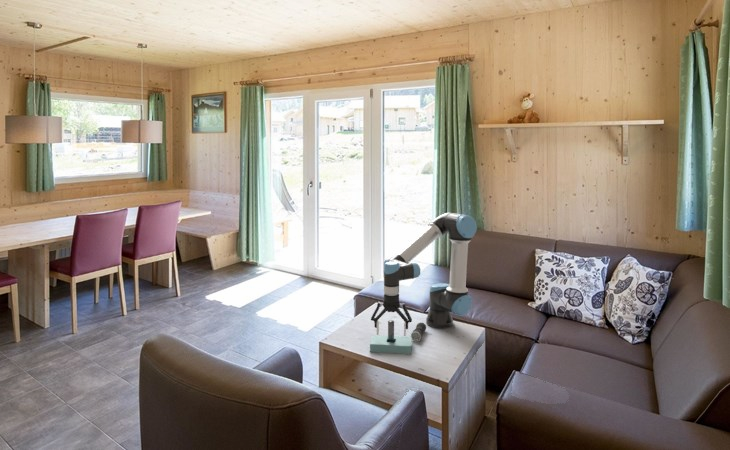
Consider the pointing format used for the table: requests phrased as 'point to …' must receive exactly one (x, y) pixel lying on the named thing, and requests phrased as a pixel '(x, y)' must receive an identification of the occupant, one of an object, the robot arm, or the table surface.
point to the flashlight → (418, 332)
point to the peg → (391, 331)
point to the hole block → (391, 344)
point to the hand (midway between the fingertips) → (391, 334)
